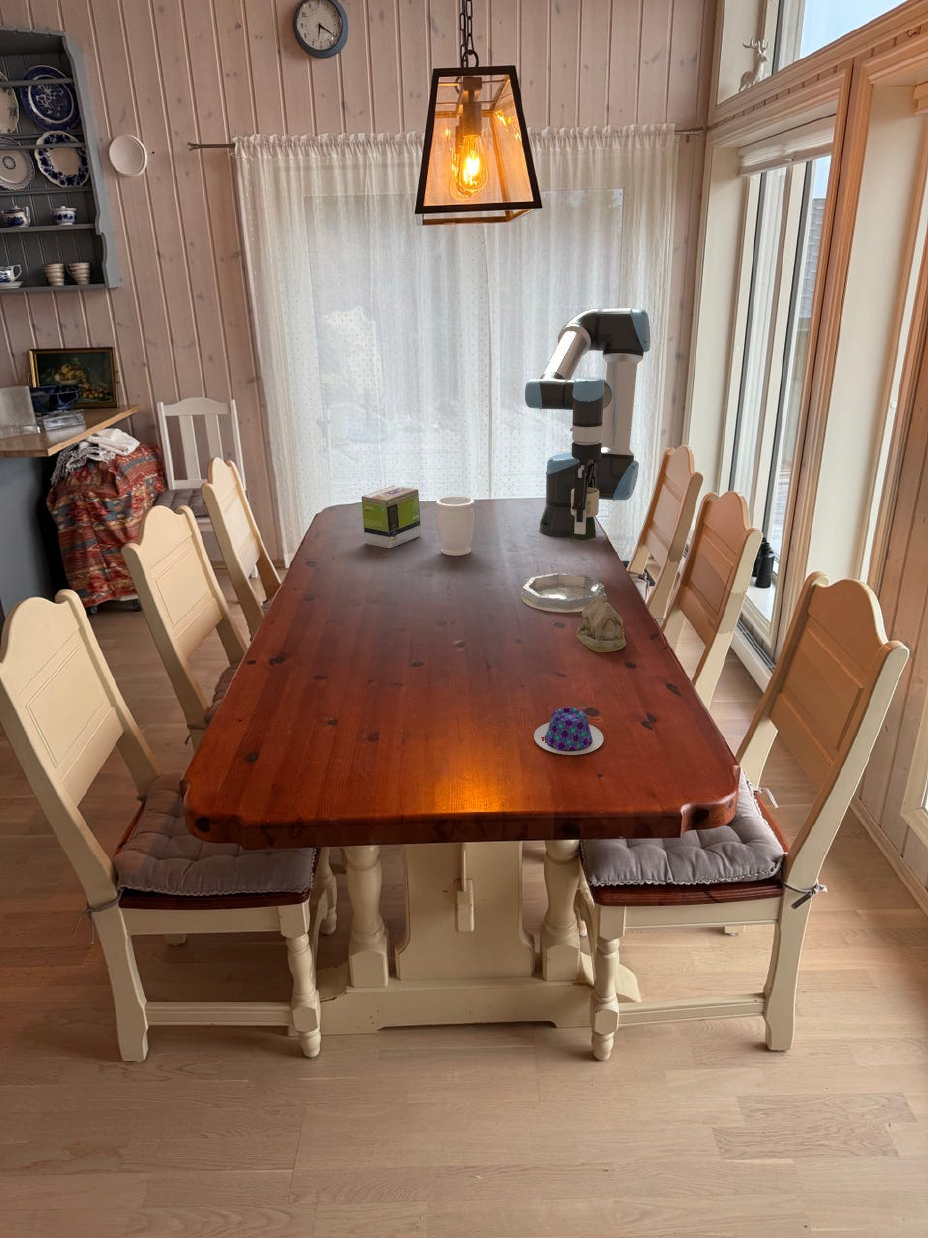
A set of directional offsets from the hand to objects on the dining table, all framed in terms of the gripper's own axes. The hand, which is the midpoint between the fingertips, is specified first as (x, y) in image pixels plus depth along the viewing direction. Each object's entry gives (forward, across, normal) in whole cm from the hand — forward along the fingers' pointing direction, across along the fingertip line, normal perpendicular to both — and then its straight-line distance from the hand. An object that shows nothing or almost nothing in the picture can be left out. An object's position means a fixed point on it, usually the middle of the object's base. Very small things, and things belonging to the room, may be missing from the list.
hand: (584, 528), depth 231 cm
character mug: (+3, 0, 0) cm, 3 cm away
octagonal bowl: (+11, +21, 0) cm, 24 cm away
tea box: (+12, -10, -60) cm, 62 cm away
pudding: (+11, +88, +18) cm, 90 cm away
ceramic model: (+11, +43, +15) cm, 47 cm away
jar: (+12, -5, -38) cm, 40 cm away
